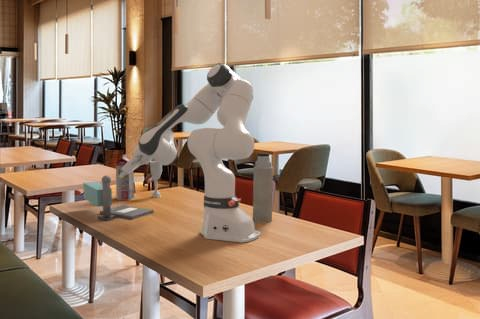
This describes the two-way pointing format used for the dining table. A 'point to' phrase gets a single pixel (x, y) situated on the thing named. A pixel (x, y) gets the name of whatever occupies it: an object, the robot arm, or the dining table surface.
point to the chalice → (156, 176)
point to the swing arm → (99, 194)
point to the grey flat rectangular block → (129, 212)
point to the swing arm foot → (106, 218)
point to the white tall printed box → (124, 181)
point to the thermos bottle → (262, 189)
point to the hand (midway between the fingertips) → (120, 176)
